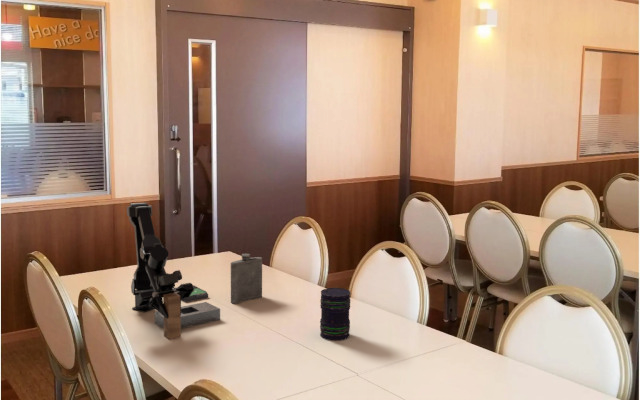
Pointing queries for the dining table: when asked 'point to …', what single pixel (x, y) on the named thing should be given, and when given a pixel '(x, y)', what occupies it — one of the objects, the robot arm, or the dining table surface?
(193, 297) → the disk drive
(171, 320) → the walnut peg
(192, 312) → the rail block
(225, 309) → the dining table surface
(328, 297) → the storage jar
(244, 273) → the flask
